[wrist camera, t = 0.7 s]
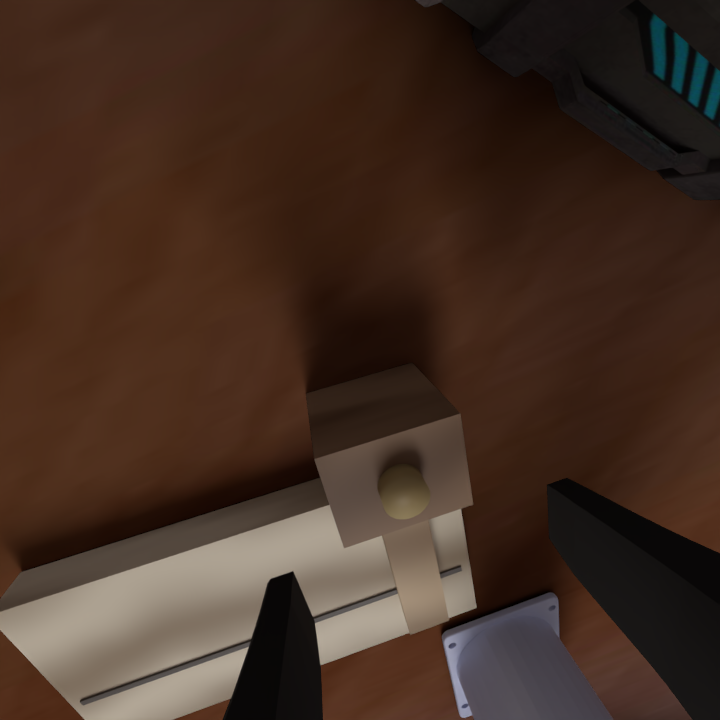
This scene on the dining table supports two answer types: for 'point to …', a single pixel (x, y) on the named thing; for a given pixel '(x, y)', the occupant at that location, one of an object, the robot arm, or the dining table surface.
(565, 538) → the robot arm
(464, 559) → the board
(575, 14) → the black flashlight
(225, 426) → the dining table surface
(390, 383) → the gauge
